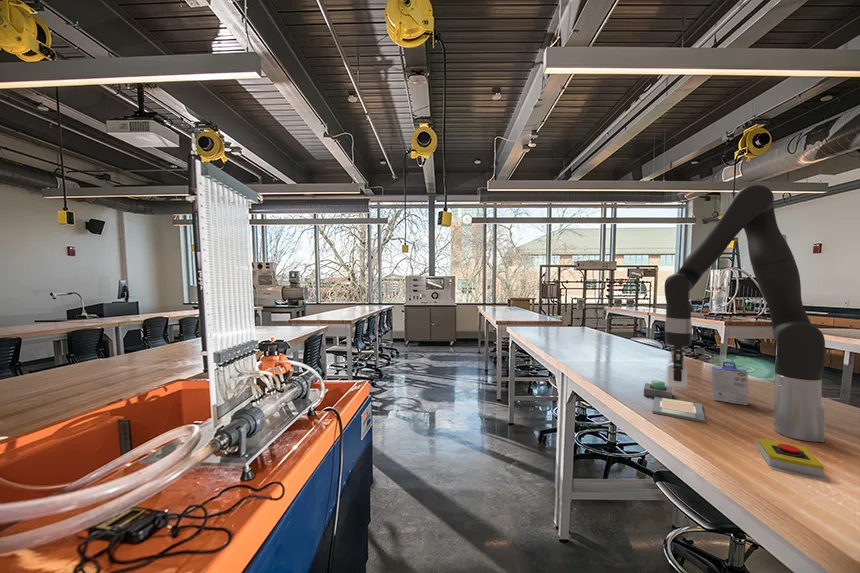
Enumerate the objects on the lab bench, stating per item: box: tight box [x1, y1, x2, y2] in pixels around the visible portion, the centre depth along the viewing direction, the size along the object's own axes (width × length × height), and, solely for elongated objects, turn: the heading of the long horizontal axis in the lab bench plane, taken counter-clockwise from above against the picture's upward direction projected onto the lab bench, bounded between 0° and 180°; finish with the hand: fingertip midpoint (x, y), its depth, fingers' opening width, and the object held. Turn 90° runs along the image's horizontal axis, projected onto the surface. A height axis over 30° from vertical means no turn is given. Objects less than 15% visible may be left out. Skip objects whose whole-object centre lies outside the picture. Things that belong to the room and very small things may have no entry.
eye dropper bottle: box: [666, 362, 688, 389], centre depth 117 cm, size 4×6×12 cm
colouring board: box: [651, 396, 706, 424], centre depth 117 cm, size 14×18×1 cm
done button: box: [650, 379, 666, 390], centre depth 132 cm, size 4×4×3 cm
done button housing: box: [643, 382, 673, 399], centre depth 132 cm, size 9×9×3 cm
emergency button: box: [754, 438, 828, 482], centre depth 83 cm, size 9×4×15 cm
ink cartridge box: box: [711, 361, 749, 406], centre depth 125 cm, size 10×6×14 cm, turn 53°
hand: (677, 379), depth 117 cm, fingers closed on eye dropper bottle, 3 cm apart
